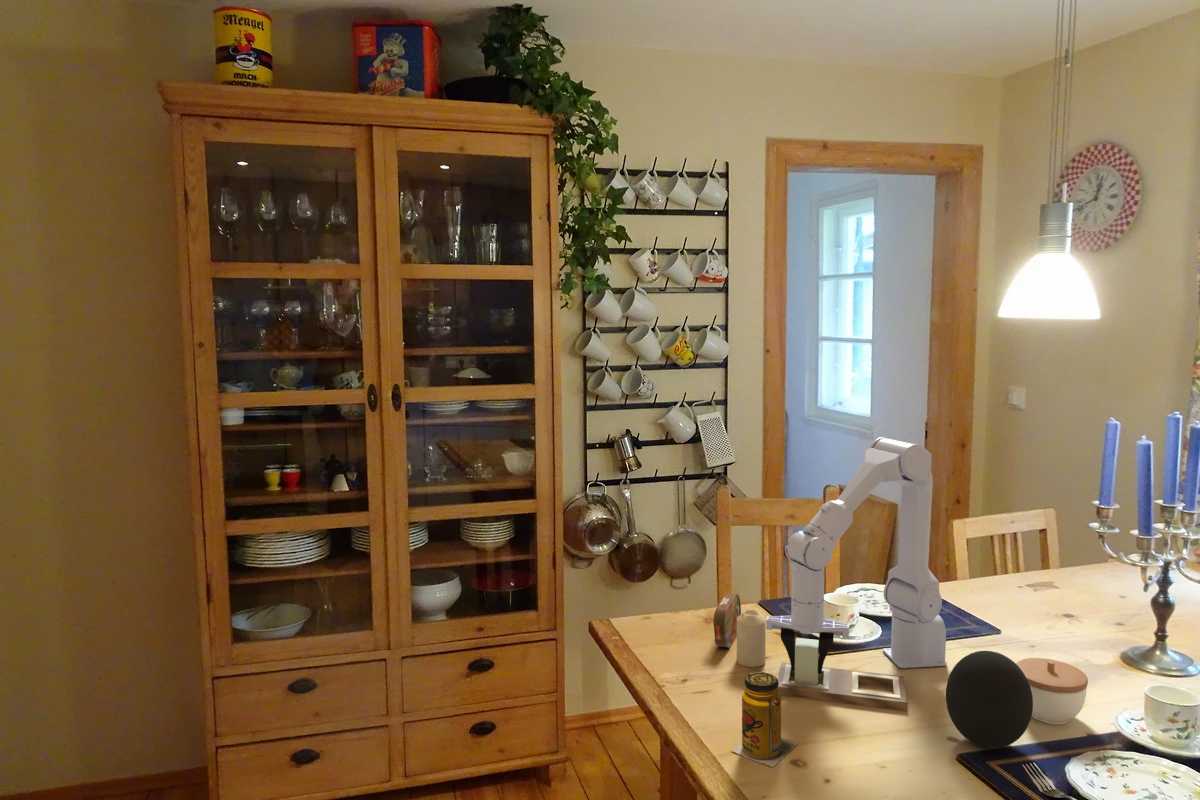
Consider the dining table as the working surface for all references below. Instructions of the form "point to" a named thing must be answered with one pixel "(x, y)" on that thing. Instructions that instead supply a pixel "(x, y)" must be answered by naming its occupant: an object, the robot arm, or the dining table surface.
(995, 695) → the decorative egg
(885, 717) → the dining table surface
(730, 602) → the tin
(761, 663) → the candle
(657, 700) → the dining table surface
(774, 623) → the robot arm
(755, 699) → the condiment
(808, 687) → the socket board
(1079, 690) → the lidded jar
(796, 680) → the peg
